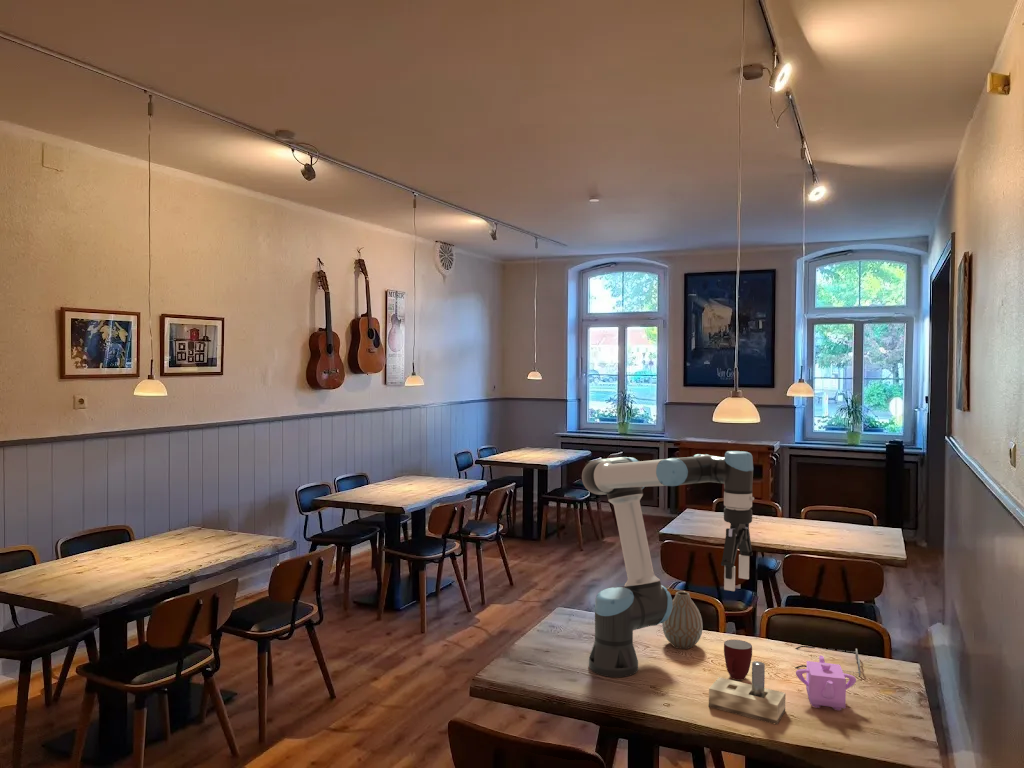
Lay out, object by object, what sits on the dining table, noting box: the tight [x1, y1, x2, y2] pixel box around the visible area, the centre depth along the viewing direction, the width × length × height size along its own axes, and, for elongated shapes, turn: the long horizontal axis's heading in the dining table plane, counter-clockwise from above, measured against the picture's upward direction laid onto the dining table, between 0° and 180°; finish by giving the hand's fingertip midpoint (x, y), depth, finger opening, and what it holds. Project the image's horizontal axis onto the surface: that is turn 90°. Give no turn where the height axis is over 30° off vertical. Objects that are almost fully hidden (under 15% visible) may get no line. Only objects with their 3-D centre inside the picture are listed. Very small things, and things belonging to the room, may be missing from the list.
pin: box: [751, 660, 766, 698], centre depth 195 cm, size 3×3×12 cm
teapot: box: [795, 655, 857, 711], centre depth 201 cm, size 15×13×11 cm
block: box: [708, 676, 786, 725], centre depth 197 cm, size 18×9×5 cm, turn 57°
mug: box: [723, 639, 753, 681], centre depth 216 cm, size 11×8×10 cm
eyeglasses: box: [794, 645, 861, 677], centre depth 230 cm, size 18×19×4 cm
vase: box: [661, 590, 704, 650], centre depth 243 cm, size 13×13×18 cm
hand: (736, 584), depth 201 cm, fingers open, 13 cm apart
